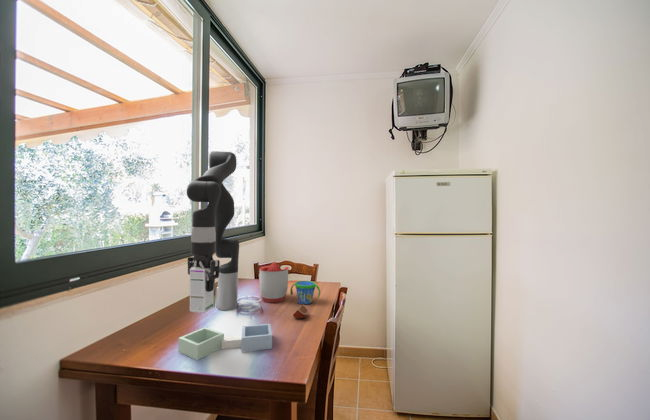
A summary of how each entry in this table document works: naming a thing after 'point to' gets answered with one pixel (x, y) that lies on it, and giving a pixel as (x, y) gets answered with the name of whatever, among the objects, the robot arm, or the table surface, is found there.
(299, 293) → the snack cup
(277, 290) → the citrus juicer
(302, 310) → the fruit slice
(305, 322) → the table surface
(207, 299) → the syrup box
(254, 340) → the holder caddy
